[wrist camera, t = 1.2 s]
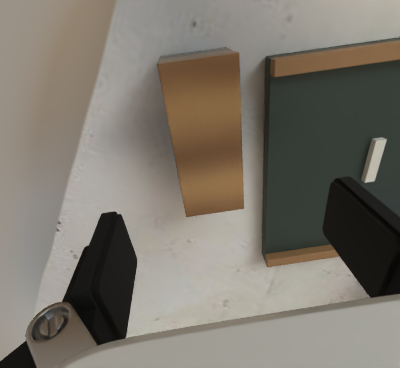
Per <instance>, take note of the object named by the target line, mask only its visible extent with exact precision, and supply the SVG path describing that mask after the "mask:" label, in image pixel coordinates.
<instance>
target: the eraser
mask: <svg viewBox="0 0 400 368" xmlns="http://www.w3.org/2000/svg"><path fill="white" fill-rule="evenodd" d="M157 66H158V71H159V76H160V82H161V87H162V92H163V97H164V103H165V108H166V113H167V119H168V124H169V129H170V134H171V140H172V145H173V150H174V155H175V161H176V166H177V171H178V177H179V182H180V187H181V192H182V198H183V203H184V208H185V214H186V217H191V216H197V215H204V214H211V213H218V212H224V211H231V210H238V209H244V195H243V163H242V131H241V100H240V68H239V53H238V52H235V51H233V50H231V49H228V48H226V47H225V48H218V49H211V50H204V51H196V52H189V53H182V54H175V55H168V56H161V57H160V60H159V62H158V65H157Z"/></svg>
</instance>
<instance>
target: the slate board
mask: <svg viewBox="0 0 400 368" xmlns="http://www.w3.org/2000/svg"><path fill="white" fill-rule="evenodd" d="M381 137H383V138H385V139H386V140H387V141H386V144H385V147H384V151H383V154H382V158H381V161H380V164H379V168H378V171H377V175H376V178H375V181H373V182H367V183H364V182H363V181H362V180H361V178H362V175H363V171H364V167H365V163H366V159H367V155H368V152H369V148H370V144H371V140H372V139H374V138H381ZM347 176H349V177H352V178H353V179H354V180H355V181H357V182H358V183H359V184H360V185H361V186H363V187H364V188H365V189H366V190H368V191H369V192H370V193H371V194H372V195H374V196H375V197H376V198H377V199H379V200H380V201H381V202H382V203H383V204H385V205H386V206H387V207H388V208H389V209H391V210H392V211H393V212H394V213H396V214H397V215H398V216H399V217H400V38H393V39H386V40H379V41H372V42H365V43H358V44H351V45H343V46H336V47H329V48H322V49H315V50H308V51H301V52H294V53H287V54H280V55H273V56H267V57H266V70H265V123H264V176H263V229H262V254H263V257H264V260H265V262H266V265H267V267H272V266H279V265H286V264H292V263H299V262H306V261H312V260H319V259H326V258H332V257H339V255H338V253H337V252H336V251H335V249H334V248H333V247H332V245H331V244H330V243H329V241H328V240H327V238H326V237H325V236H324V234H323V230H322V227H323V222H324V216H325V210H326V204H327V199H328V193H329V187H330V184H331V182H333V181H334V179H336V178H341V177H347Z"/></svg>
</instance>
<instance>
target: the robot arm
mask: <svg viewBox="0 0 400 368" xmlns="http://www.w3.org/2000/svg"><path fill="white" fill-rule="evenodd" d="M322 230H323V234H324V236H325V237H326V238H327V240H328V241H329V243H330V244H331V245H332V247H333V248H334V249H335V251H336V252H337V253H338V255H339V256H340V257H341V259H342V260H343V261H344V263H345V264H346V265H347V267H348V268H349V269H350V271H351V272H352V274H353V275H354V276H355V278H356V279H357V280H358V282H359V283H360V284H361V286H362V287H363V288H364V290H365V291H366V292H367V294H368V295H369V296H370V297H371V298H367V299H361V300H354V301H348V302H341V303H335V304H328V305H322V306H315V307H309V308H302V309H296V310H290V311H284V312H277V313H271V314H265V315H258V316H252V317H246V318H240V319H234V320H227V321H221V322H215V323H209V324H203V325H197V326H191V327H185V328H179V329H173V330H167V331H162V332H156V333H151V334H145V335H140V336H134V337H129V338H126V334H127V327H128V321H129V314H130V307H131V301H132V294H133V288H134V281H135V275H136V268H137V257H136V254H135V251H134V248H133V246H132V243H131V240H130V237H129V234H128V232H127V229H126V226H125V223H124V220H123V217H122V215H121V214H117V213H116V212H108V213H102V214H101V216H100V219H99V221H98V224H97V226H96V229H95V232H94V234H93V237H92V239H91V242H90V244H89V246H86V247H85V248H84V250H83V252H82V254H81V257H80V259H79V262H78V264H77V267H76V269H75V271H74V274H73V276H72V279H71V281H70V284H69V286H68V289H67V291H66V294H65V296H64V298H63V301H62V302H58V303H55V304H52V305H50V306H48V307H46V308H44V309H43V310H42V311H41V312H39V313H38V314H37V315H36V316H35V317H34V318H33V320H32V321H31V322H30V324H29V326H28V328H27V331H26V341H25V342H24V343H23V344H21V345H20V346H19V347H18V348H16V349H15V350H14V351H13V352H11V353H10V354H9V355H8V356H6V357H5V358H4V359H3V360H2V361H0V368H400V217H399V216H398V215H397V214H396V213H394V212H393V211H392V210H391V209H389V208H388V207H387V206H386V205H385V204H383V203H382V202H381V201H380V200H379V199H377V198H376V197H375V196H374V195H372V194H371V193H370V192H369V191H368V190H366V189H365V188H364V187H363V186H361V185H360V184H359V183H358V182H357V181H355V180H354V179H353V178H352V177H349V176H347V177H341V178H336V179H334V181H333V182H331V184H330V187H329V193H328V199H327V204H326V210H325V216H324V222H323V227H322Z"/></svg>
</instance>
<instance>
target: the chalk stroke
mask: <svg viewBox="0 0 400 368" xmlns="http://www.w3.org/2000/svg"><path fill="white" fill-rule="evenodd" d="M386 141H387V140H386V139H385V138H383V137H381V138H374V139H372V140H371V144H370V148H369V152H368V155H367V159H366V163H365V167H364V171H363V175H362V178H361V180H362V181H363V182H364V183H367V182H373V181H375V178H376V175H377V171H378V168H379V164H380V161H381V158H382V154H383V151H384V147H385V144H386Z"/></svg>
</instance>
